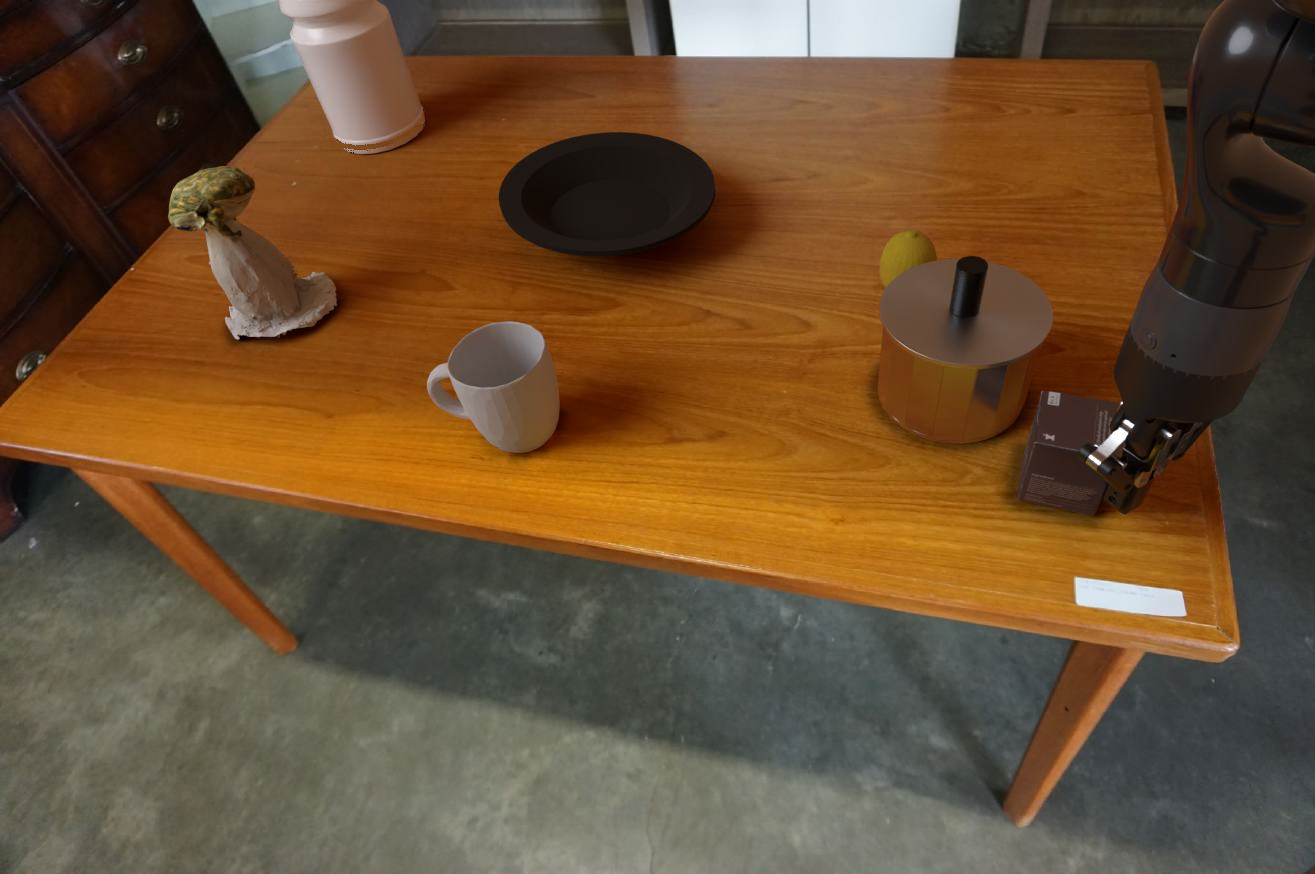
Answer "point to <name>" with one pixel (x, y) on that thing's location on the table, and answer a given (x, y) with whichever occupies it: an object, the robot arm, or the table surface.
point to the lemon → (905, 254)
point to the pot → (951, 395)
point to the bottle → (356, 69)
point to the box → (1064, 453)
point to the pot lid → (966, 313)
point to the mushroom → (247, 257)
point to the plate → (607, 194)
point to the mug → (502, 385)
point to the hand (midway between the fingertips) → (1121, 502)
